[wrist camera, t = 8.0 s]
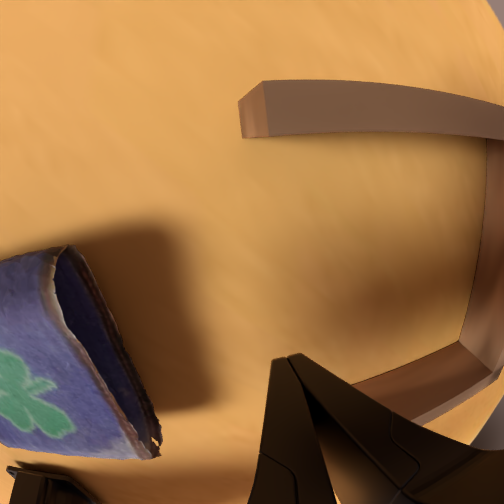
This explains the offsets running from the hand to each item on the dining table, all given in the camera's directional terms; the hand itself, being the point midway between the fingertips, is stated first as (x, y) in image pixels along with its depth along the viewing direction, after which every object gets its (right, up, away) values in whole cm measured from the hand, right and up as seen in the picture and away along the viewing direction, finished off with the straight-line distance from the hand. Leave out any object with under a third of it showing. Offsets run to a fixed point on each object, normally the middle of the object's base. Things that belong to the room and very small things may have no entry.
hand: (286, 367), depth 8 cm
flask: (-7, +1, +3) cm, 7 cm away
